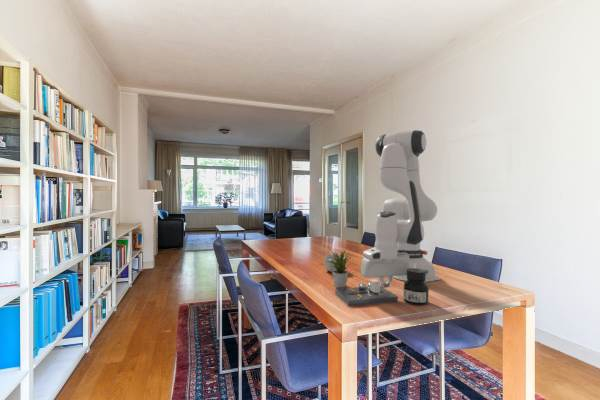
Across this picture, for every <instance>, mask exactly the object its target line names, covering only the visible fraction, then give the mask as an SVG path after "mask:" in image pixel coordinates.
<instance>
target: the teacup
mask: <svg viewBox="0 0 600 400" xmlns="http://www.w3.org/2000/svg"><path fill="white" fill-rule="evenodd" d="M340 255H341V254H340ZM340 255H339V254H338V256H339V258H340ZM333 256H334V254H333V253H331V254H328V255H327V254H324V268H325V269H326V270H327V271H328V272H330V273H332V271H334V270H337V269H336V268H335V267H334V266H332V267H330V268H329V265H334V264H333V263H330V262H327V261H331V260H332V261H333V262H334V261H335V262H336V260H335V259H334V257H333ZM335 256H336V255H335ZM331 257H332V258H333V259H332V258H331ZM344 258H345V256H344ZM344 258H343V260H344ZM328 263H329V264H328ZM336 263H337V262H336ZM327 266H328V267H327Z"/></svg>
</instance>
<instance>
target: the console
mask: <svg viewBox="0 0 600 400" xmlns="http://www.w3.org/2000/svg"><path fill="white" fill-rule="evenodd" d="M334 292H335V293H334V294H335V295H336V297H338V298H339V299H340V300H341V301H343V302H344V303H345V304H346V305H347V307H354V306H355V307H356V306H364V305H365V306H366V305H368V306H369V305H376V304H377V305H378V304H379V305H380V304H391V303H398V302H399V298H398V297H399V296H397V295H396V294H394V293H392V292H391V291H389V290H388V289H386V288H383V287H381V285H380V292H378V293H374V292H372V291H371V290H370V282H368V283H367V286H366V283H364V282H360V283H359V284H358V287H338V288H335V290H334Z"/></svg>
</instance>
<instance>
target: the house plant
mask: <svg viewBox="0 0 600 400" xmlns="http://www.w3.org/2000/svg"><path fill="white" fill-rule="evenodd" d="M328 251H330V252H331V254H332V255H334V256H333V257H334V259H335V260H336V262H337V263H336V262H335V261H334V262H333V261H332V260H331V261H327V262H330V263H333V264H334V265H329V268H330V267H332V266H334V267H335V268H336V269H337V270H334V271H332V272H331V273H332V279H333V285H334V287H335V288H347V284H348V283H347V282H348V278H349V271H348V268H347V267H348V266H350V265H351V264H352V265H353V264H354V263H349V264H347V262H349V260H350V259H351V258H352V256H350V254H349V253H348V251H347V252H346V249H342V250H341V253H340V258H339V256H338V255H339V254H338V253H337V251H334V252H333V251H332V250H328ZM345 253H346V254H345ZM326 255H329V254H328V253H326ZM335 255H336V256H335ZM344 257H345V258H344ZM331 258H332V257H331ZM343 258H344V260H343ZM332 259H333V258H332ZM328 264H329V263H328ZM327 267H328V266H327Z"/></svg>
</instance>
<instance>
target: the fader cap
mask: <svg viewBox="0 0 600 400" xmlns="http://www.w3.org/2000/svg"><path fill="white" fill-rule="evenodd" d="M369 283H370V290H371V291H372V292H374V293H378V292H380V286H381V282H380V280H377V279H373V278H372V279H369Z"/></svg>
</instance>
